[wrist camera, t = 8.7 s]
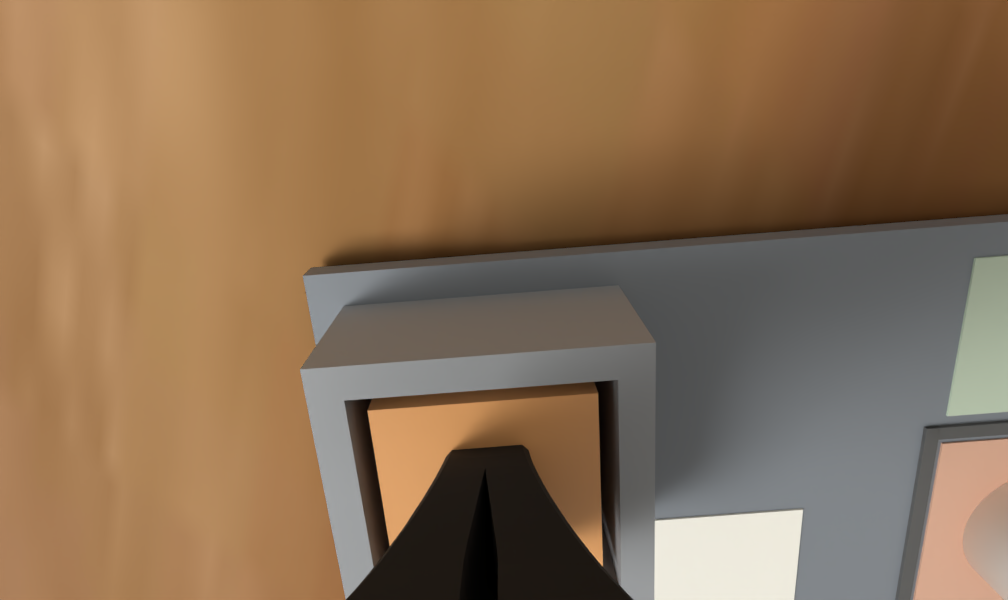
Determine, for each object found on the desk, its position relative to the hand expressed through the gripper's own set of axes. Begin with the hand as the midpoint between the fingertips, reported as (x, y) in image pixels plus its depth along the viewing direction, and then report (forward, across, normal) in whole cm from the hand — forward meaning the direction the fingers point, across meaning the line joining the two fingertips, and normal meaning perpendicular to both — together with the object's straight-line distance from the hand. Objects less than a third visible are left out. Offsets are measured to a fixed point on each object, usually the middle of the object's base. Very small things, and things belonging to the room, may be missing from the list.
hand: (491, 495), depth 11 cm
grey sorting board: (+3, -7, +2) cm, 8 cm away
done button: (+2, 0, 0) cm, 2 cm away
